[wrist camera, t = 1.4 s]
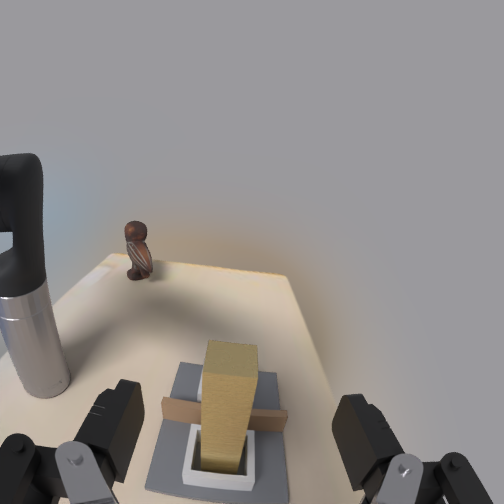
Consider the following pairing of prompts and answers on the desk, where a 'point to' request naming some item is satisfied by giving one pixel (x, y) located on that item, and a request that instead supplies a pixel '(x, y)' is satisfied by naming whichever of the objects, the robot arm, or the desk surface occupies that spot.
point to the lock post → (226, 404)
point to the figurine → (138, 251)
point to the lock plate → (189, 447)
